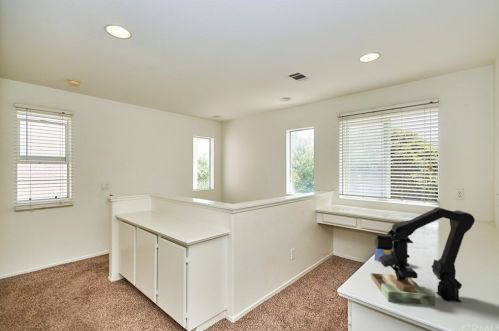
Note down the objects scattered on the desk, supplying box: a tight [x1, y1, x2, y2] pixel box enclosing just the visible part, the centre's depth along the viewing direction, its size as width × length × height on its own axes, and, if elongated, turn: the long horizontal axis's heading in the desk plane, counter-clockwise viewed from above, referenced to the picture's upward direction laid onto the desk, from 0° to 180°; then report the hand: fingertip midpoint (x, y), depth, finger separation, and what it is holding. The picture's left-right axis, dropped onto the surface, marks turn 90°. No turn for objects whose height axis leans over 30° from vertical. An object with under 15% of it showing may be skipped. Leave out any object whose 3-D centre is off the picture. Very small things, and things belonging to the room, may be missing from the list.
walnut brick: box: [396, 279, 415, 293], centre depth 104 cm, size 4×7×4 cm, turn 170°
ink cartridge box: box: [374, 246, 393, 263], centre depth 144 cm, size 10×6×14 cm, turn 40°
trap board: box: [370, 272, 436, 307], centre depth 110 cm, size 18×22×4 cm
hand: (399, 284), depth 110 cm, fingers closed
